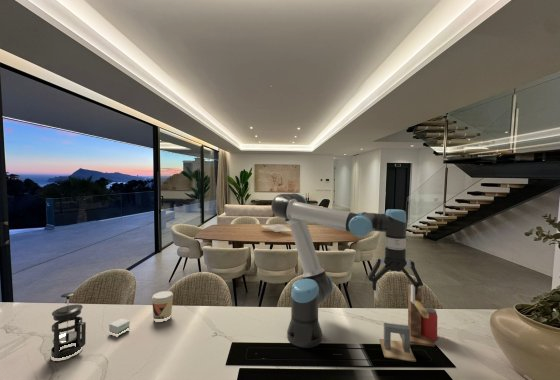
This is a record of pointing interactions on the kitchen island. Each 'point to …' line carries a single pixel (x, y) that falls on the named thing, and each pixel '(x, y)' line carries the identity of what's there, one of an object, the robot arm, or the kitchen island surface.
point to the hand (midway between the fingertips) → (394, 300)
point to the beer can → (429, 324)
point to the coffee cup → (162, 304)
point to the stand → (417, 320)
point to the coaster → (397, 351)
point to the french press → (69, 337)
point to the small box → (119, 326)
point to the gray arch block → (401, 330)
